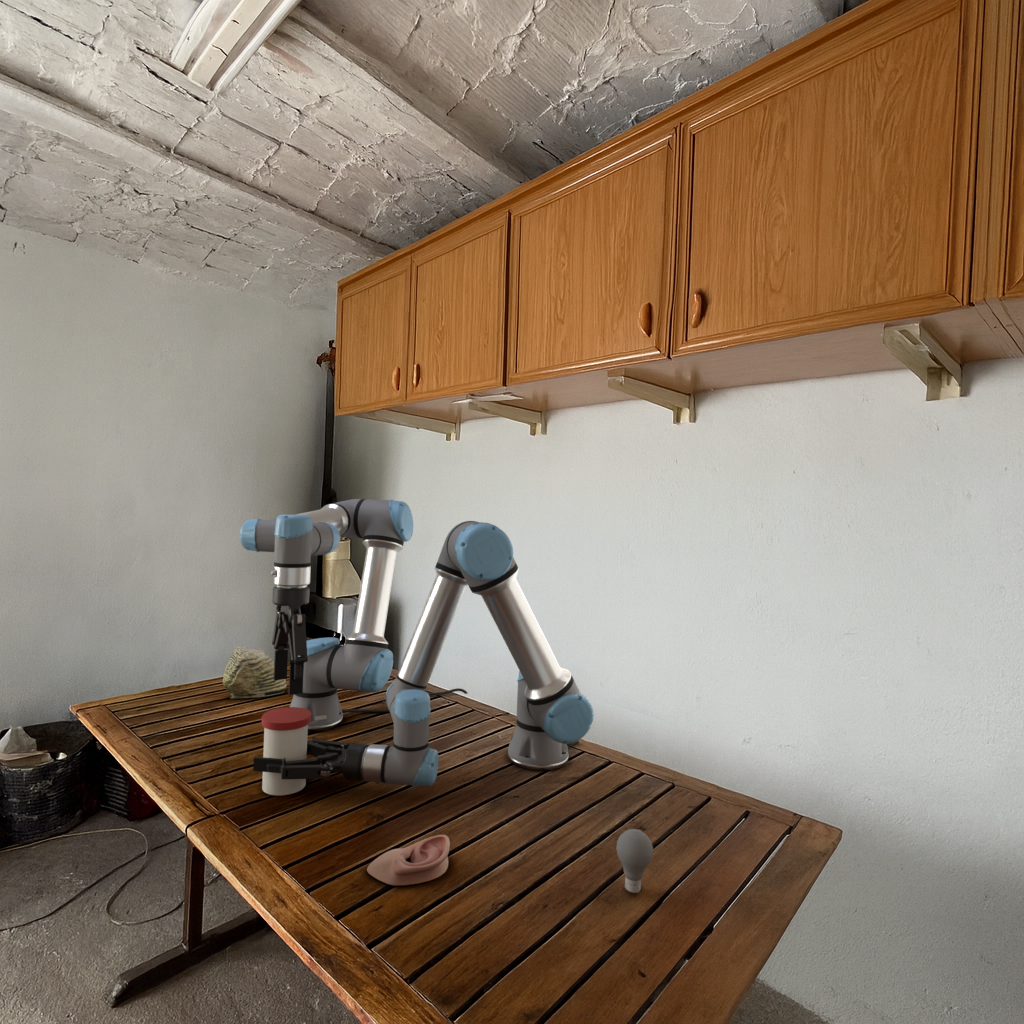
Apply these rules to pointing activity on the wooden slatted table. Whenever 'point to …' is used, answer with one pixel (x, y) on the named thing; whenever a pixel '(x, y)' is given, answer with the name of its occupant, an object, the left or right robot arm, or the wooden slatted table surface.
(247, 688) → the fossil
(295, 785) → the jar
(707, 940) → the wooden slatted table surface
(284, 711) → the lid
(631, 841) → the light bulb
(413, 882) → the anatomical model
